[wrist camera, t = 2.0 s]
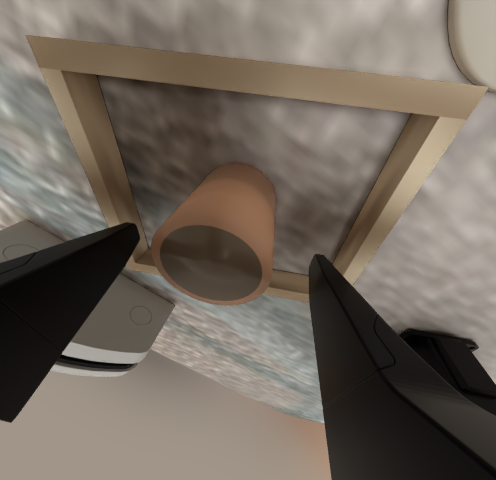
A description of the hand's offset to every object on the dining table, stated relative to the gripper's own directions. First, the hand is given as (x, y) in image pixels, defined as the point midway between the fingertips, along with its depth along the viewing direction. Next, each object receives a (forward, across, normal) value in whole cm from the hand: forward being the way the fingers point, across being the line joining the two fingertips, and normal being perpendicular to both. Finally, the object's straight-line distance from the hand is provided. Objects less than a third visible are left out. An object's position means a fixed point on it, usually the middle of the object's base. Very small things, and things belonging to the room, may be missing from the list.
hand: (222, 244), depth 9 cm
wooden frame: (+5, 0, 0) cm, 5 cm away
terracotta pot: (+5, 0, 0) cm, 5 cm away
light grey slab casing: (+5, +14, +11) cm, 19 cm away
